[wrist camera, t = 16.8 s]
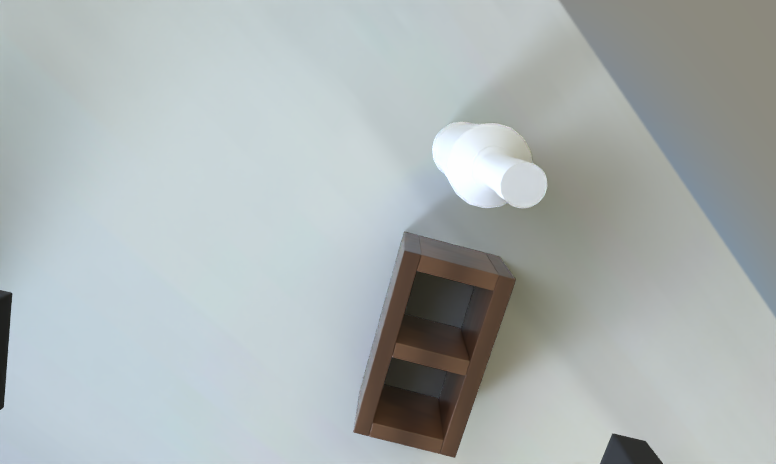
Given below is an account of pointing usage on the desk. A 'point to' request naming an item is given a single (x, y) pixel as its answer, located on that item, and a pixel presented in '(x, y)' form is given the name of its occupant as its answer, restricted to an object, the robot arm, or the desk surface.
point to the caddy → (432, 347)
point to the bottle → (489, 165)
